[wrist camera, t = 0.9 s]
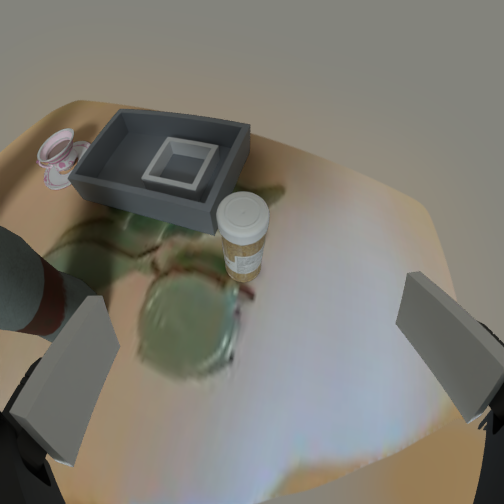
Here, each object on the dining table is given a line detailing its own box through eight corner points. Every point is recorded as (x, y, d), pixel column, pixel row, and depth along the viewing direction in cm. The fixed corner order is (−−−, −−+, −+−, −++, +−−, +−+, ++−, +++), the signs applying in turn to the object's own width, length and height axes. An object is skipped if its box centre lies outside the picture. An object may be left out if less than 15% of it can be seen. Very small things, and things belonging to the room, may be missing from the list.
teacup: (88, 134, 46) (77, 113, 40) (100, 166, 42) (87, 143, 37) (42, 165, 43) (29, 146, 38) (48, 202, 40) (31, 183, 34)
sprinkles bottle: (223, 252, 36) (213, 193, 24) (258, 247, 37) (264, 186, 24) (228, 286, 35) (219, 239, 22) (264, 280, 35) (275, 231, 23)
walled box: (83, 199, 39) (67, 178, 34) (129, 131, 46) (119, 108, 40) (214, 235, 37) (209, 212, 32) (249, 151, 43) (250, 124, 38)
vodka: (115, 290, 34) (-57, 136, 6) (104, 357, 30) (-115, 288, 3) (64, 281, 34) (-87, 159, 6) (53, 341, 30) (-126, 266, 3)
